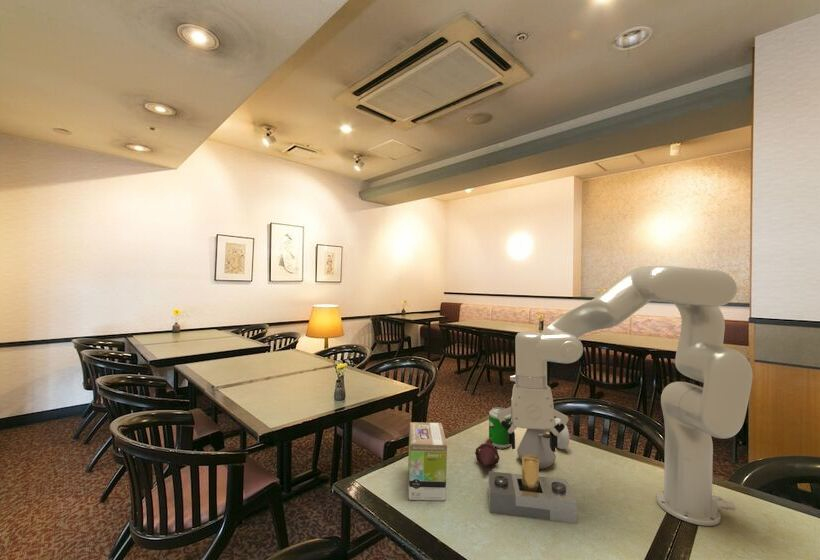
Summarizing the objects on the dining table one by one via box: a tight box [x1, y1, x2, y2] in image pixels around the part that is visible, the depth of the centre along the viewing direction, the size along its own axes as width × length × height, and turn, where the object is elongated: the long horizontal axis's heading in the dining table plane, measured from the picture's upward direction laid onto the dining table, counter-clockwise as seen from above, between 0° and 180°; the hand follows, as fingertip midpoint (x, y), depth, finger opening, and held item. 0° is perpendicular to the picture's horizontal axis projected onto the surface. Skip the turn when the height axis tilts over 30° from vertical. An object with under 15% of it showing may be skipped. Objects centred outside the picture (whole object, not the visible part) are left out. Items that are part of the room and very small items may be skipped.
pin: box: [521, 454, 540, 493], centre depth 91 cm, size 4×4×12 cm
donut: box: [549, 417, 571, 450], centre depth 122 cm, size 10×4×10 cm, turn 4°
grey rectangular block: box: [487, 470, 578, 524], centre depth 91 cm, size 20×10×6 cm, turn 80°
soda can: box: [488, 407, 512, 450], centre depth 124 cm, size 8×8×12 cm
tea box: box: [407, 421, 448, 501], centre depth 99 cm, size 15×10×15 cm
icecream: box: [474, 438, 500, 468], centre depth 110 cm, size 7×7×15 cm
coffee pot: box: [516, 429, 558, 470], centre depth 107 cm, size 21×12×15 cm, turn 177°
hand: (532, 448), depth 91 cm, fingers open, 9 cm apart
